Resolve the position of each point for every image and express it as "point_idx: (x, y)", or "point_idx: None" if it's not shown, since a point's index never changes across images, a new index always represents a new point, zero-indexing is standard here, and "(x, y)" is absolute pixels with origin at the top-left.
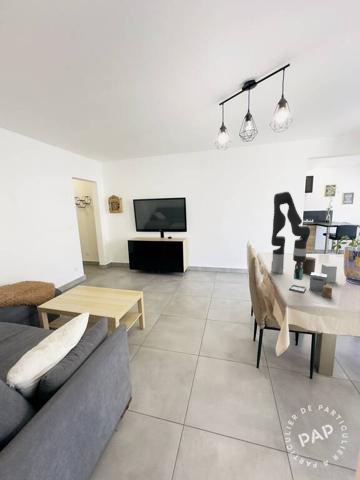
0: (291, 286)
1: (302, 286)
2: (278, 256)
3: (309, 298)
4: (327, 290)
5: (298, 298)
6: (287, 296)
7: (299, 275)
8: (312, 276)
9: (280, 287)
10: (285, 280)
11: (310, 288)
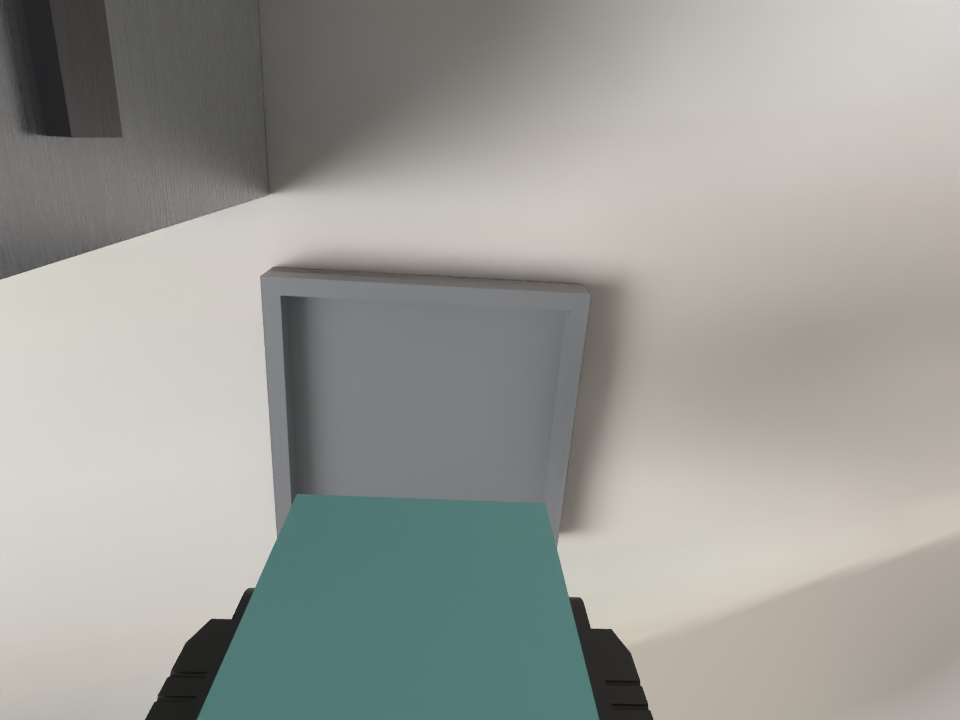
0: None
1: (267, 356)
2: None
3: (849, 150)
4: None
5: (926, 340)
6: (896, 505)
7: None
8: (1, 160)
9: None
10: (38, 668)
11: (257, 174)
